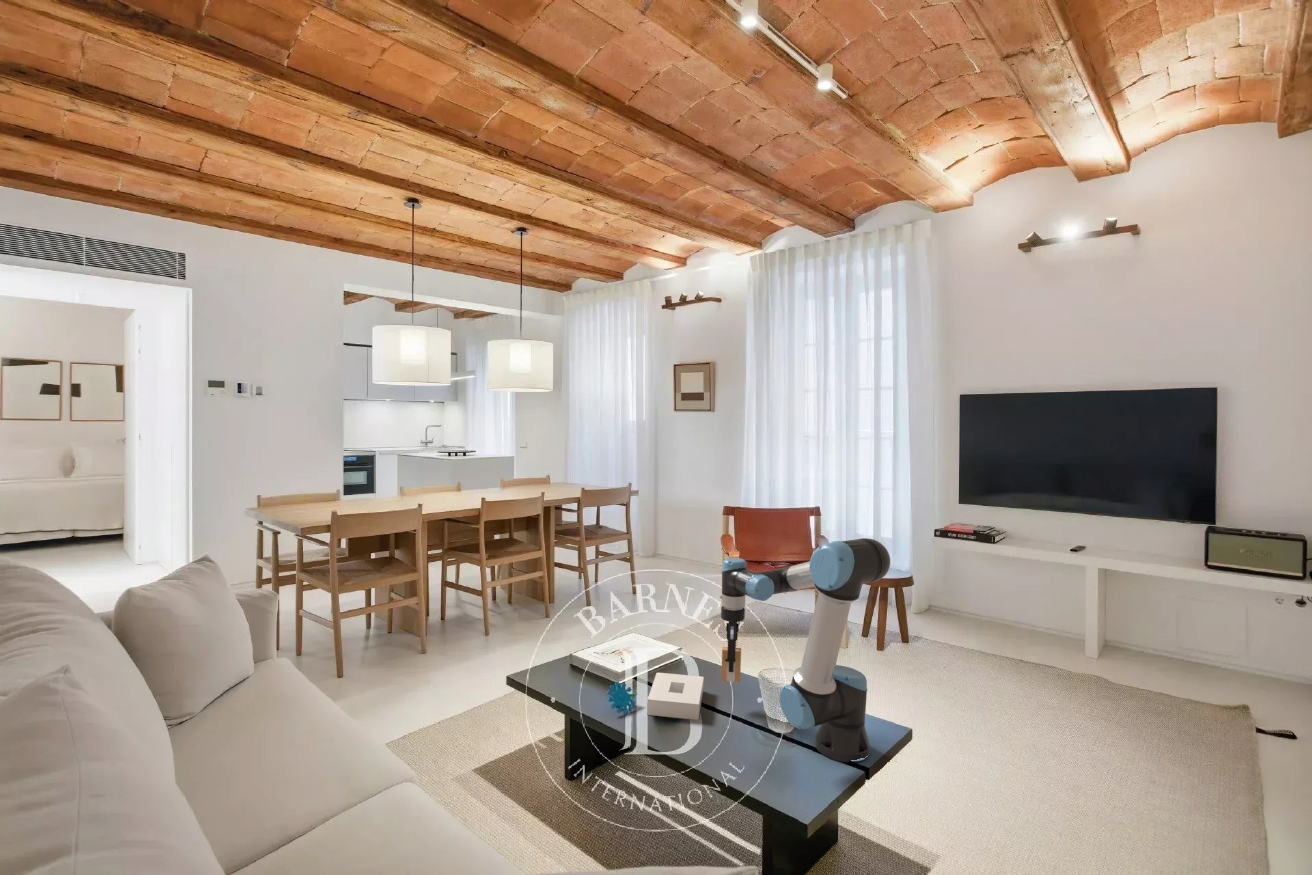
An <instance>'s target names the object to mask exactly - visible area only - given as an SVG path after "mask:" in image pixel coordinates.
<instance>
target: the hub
mask: <svg viewBox="0 0 1312 875" xmlns="http://www.w3.org/2000/svg"><path fill="white" fill-rule="evenodd" d="M704 678H705V676H700V675H699V676H698V675H689V674H688V675H686V674H679V673H677V674H676V673H668V672H667V673H666V672H656V674H655V676H654V680H653V682H652V686H651V689H650V692H649V694H648V697H647V703H646V704H647V705H646V706H647V708H646V710H647V711H646V715H647V716H655V717H656V716H657V717H667V718H673V719H685V720H693V721H699V718H700V713H701V706H702V700H703V693H704V681H705V680H704Z"/></svg>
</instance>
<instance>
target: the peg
mask: <svg viewBox="0 0 1312 875" xmlns="http://www.w3.org/2000/svg"><path fill="white" fill-rule="evenodd" d="M727 656H728V646H722V650H721V675H720V676H721V679H720V681H722V682H727V681H726V679H727V662H726V661H725V659H727ZM735 659H736V665H735V682H736V683H741V666H742V663H741V662H742V647H736V650H735ZM735 682H734V683H735ZM731 683H733V681H731Z"/></svg>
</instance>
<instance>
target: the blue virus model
mask: <svg viewBox="0 0 1312 875" xmlns="http://www.w3.org/2000/svg"><path fill="white" fill-rule="evenodd" d="M619 686H620V687H619ZM626 686H627V684H626V682H622V683H620V682H619V681H616V682H614V684H611V685H609V689H608V690H607V692H606V694H607V695H609V697H607V702H608V703H612V704H610V707H611V709H613V710H614V709H615V708H616V707H619V708H617V709H616V712H617V713H618V714H621V713H623V714H628V713H629V712H631V711H632V710H634V705H636V700H634V698H635V697H636V696H637V695H638V693H637V692H636V691H634V692H633V693H630V692H631V691H632V688H631V686H628V687H627V688H626V689H624V688H625V687H626ZM623 708H624V709H623ZM622 709H623V710H622ZM622 711H623V712H622Z"/></svg>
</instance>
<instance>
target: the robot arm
mask: <svg viewBox="0 0 1312 875" xmlns="http://www.w3.org/2000/svg"><path fill="white" fill-rule="evenodd" d="M890 567H891V557H890V552H889V551H888V549H887V548H886V546H885V545H884V544H883V543H881V542H879V541H878V540H876V539H873V538H868V537H867V538H866V537H865V538H863V537H862V538H857V539H856V538H855V539H851V540H850V539H849V540H835V541H833V540H832V541H831V542H828V543H823V544H821V545H819V546H818V547H817V548H816V549H815V550H814V551H813V553H812V555H811V556H810V560H809V561H806V562H803V563H799V564H795V565H791V566H786V567H781V568H775V569H769V570H767V569H766V570H761V571H753V570H749V569H748V568H747V562H746V560H745V559H743V558H740V557H727V558H725V559H724V560H723V561H722V570H721V573H722V574H721V595H719V599H721V609H720V610H721V611H720V617H721V619H722V620H723V621H725V622H726V621H727V622H726V626H725V631H726V640H727V647H728V656H727V659H725V661H726V662H727V679H726V681H725V682H732V681H733V682H734V683H735V665H736V659H735V650H736V648H737V640H738V636H739V634H738V633H739V628H740V624H739V623H740V622H743V621H744V620H745V617H746V612H745V611H746V609H745V606H746V596H747V597H749V598H751V599H754V600H757V601H761V602H765V601H767V600H769V599H770V598H771V597H772V596H773V595H777V594H778V595H779V594H783V593H784V594H785V593H794V592H798V591H799V590H800V591H801V590H804V589H809V588H814V589H815V590H816V591H817V592H818V593H817V598H816V603H815V607H814V611H813V615H812V618H811V622H810V628H809V632H808V635H807V640H806V644H805V649H804V653H803V657H802V661H801V666H800V667H798V668H795V670H794V672H793V675H792V679H791V683H790V684H785V685H784V686H783V687H782V688H781V689H780V691H779V705H780V709H781V710H782V713H783V716H784V717H785V719H786V720H787V721H788V723H790V725H791V726H793V727H794V728H796V729H798V730H805V729H812V728H814V727H818V726H819V727H818V728H817V731H816V733H815V739H814V741H815V742H814V745H815V746H814V747H815V748H816V749H817V751H818V752H819V753H820V754H821V755H823V756H825V757H827V758H828V759H831V760H833V761H837V762H842V763H848V762H849V761H851V760H857V759H860V758H865V757H866V756H868V754H869V752H870V750H871V746H870V740H869V737H868V736H869V735H868V734H867V730H866V727H865V726H866V725H865V724H866V722H865V721H866V713H867V708H866V707H867V694H868V686H867V685H868V684H867V683H868V679H867V678H866V676H865V675H864V673H863V672H862V671H860V670H857V669H854V668H852V667H849V666H845V665H840V664H837V661H838V656H839V653H840V649H841V646H842V645H841V644H842V641H843V637H844V633H845V629H846V626H847V621H848V617H849V613H850V609H851V604H852V603H853V602H856V601H858V600H859V598H860V594H861V592H862V587H863V585H865V584H871V583H875V582H878V581H881V579H883V578H885V576H886V575H887V573H888V572H889V570H890ZM733 682H732V683H733ZM869 755H870V754H869Z"/></svg>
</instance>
